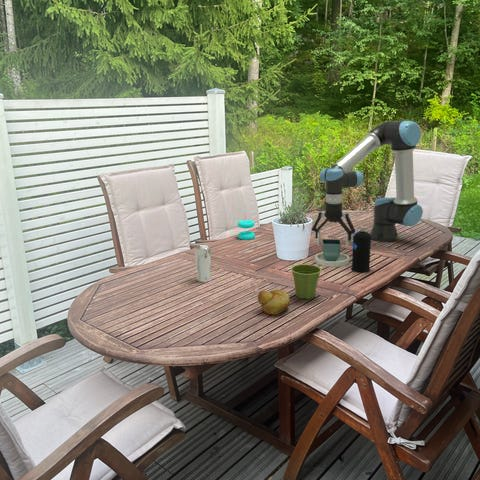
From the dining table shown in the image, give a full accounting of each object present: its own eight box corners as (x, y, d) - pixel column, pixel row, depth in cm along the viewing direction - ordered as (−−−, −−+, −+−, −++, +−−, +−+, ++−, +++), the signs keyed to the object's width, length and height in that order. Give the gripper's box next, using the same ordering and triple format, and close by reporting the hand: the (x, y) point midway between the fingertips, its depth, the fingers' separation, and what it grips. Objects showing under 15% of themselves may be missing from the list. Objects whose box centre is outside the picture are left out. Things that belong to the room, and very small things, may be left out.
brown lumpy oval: (277, 300, 169) (277, 281, 167) (298, 307, 162) (298, 287, 160) (255, 311, 160) (254, 291, 158) (275, 319, 154) (275, 298, 152)
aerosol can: (371, 267, 202) (373, 225, 196) (368, 273, 195) (370, 229, 189) (353, 265, 205) (355, 224, 200) (349, 271, 198) (351, 228, 193)
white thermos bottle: (214, 277, 195) (212, 245, 191) (208, 283, 188) (206, 249, 184) (200, 276, 197) (198, 244, 193) (193, 281, 191) (191, 248, 187)
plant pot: (313, 304, 165) (314, 276, 162) (285, 298, 171) (285, 271, 168) (325, 293, 174) (326, 266, 171) (298, 288, 180) (298, 262, 177)
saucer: (340, 255, 221) (341, 250, 220) (354, 265, 206) (354, 260, 205) (310, 257, 218) (310, 253, 218) (322, 268, 203) (322, 263, 203)
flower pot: (339, 256, 216) (340, 239, 213) (340, 262, 208) (341, 244, 205) (321, 256, 217) (321, 238, 215) (321, 262, 209) (322, 244, 206)
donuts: (258, 221, 254) (245, 224, 247) (258, 237, 256) (246, 241, 250) (246, 218, 261) (233, 221, 254) (246, 234, 263) (234, 238, 257)
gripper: (305, 202, 206) (305, 246, 212) (360, 205, 196) (358, 250, 202) (309, 199, 212) (309, 241, 218) (362, 201, 203) (360, 245, 209)
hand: (332, 246), depth 210 cm, fingers open, 13 cm apart
